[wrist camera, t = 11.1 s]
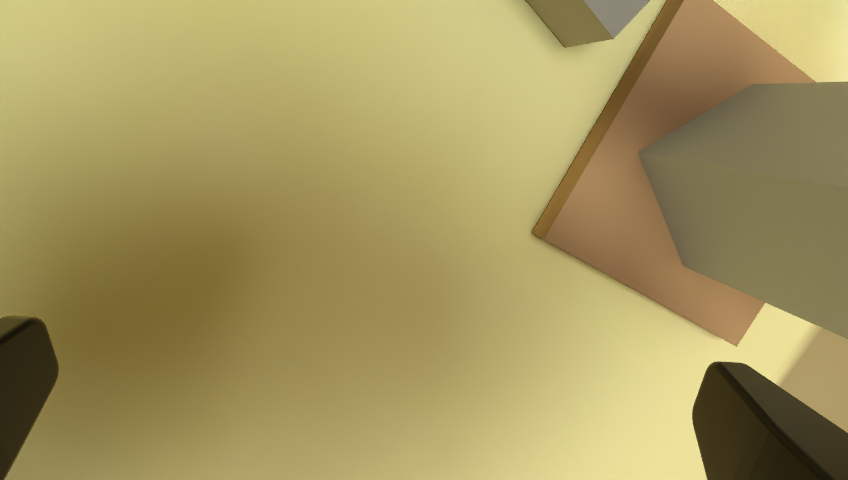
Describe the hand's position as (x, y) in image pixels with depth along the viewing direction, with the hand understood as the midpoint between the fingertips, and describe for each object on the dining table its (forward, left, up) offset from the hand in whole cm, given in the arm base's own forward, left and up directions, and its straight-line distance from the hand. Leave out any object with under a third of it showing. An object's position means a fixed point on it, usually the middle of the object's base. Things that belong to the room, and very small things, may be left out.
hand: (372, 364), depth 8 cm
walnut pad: (+12, -3, -11) cm, 17 cm away
